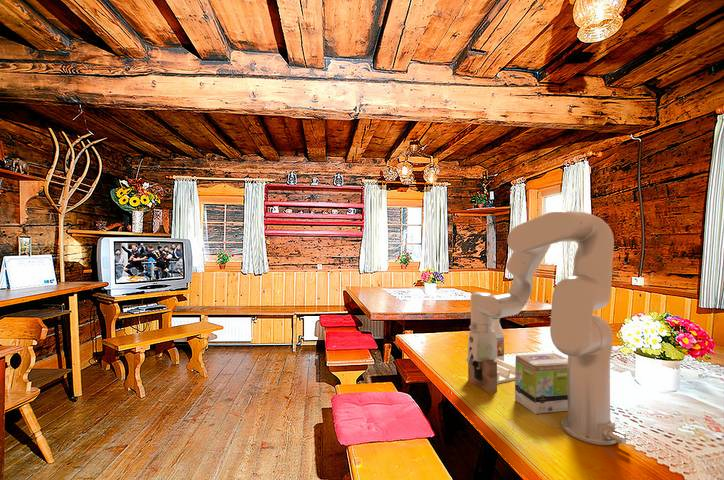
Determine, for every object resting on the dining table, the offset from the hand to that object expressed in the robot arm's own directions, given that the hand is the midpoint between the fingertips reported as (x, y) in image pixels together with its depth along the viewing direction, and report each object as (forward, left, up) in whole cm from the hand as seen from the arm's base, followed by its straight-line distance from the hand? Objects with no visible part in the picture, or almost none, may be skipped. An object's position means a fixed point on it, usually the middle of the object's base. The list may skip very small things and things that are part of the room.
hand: (482, 378), depth 118 cm
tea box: (-19, -8, -3) cm, 21 cm away
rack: (+6, -13, -3) cm, 15 cm away
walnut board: (0, 0, -3) cm, 3 cm away
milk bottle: (+18, -24, -3) cm, 30 cm away
